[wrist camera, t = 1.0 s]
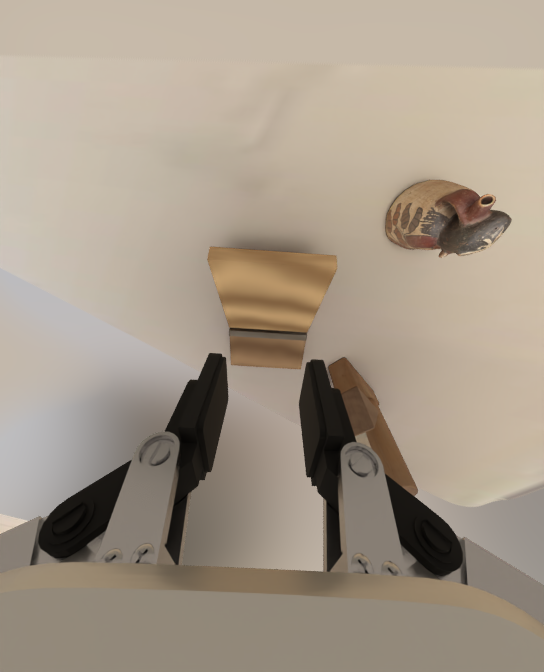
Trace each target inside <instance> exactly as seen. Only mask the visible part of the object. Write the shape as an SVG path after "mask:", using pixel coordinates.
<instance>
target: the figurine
mask: <svg viewBox="0 0 544 672" xmlns="http://www.w3.org/2000/svg"><path fill="white" fill-rule="evenodd" d="M495 201H496V198H495V196H493V195H490V194H487V195H484V196H482V197H480V196H479V195H478V194H477V193H476V192H474V191H473V190H471V189H469V188H467V187H464V186H462V185H459V184H456V183H453V182H449V181H444V180H429V181H425V182H421V183H418V184H415V185H413V186H411V187H410V188H408V189H406V190H405V191H404V192H403V193H402V194H401V195H400V196H399V197H397V198H396V200H395V201H394V203H393V204H392V206H391V207H390V209H389V211H388V213H387V219H386V233H387V236H388V238H389V239H390V240H391V241H392V242H394V243H395V244H397V245H399V246H401V247H403V248H406V249H424V250H433V249H441V250H442V251H441V252H440V254H439V257H441V258H442V257H445V256H447V255H448V254H450V253H456V254H457V255H459V256H464V255H468V254H472V253H476V252H480V251H483V250H485V249H487V248H489V247H490V246H491V245H492V244H494V242H495V241H496V240H497V239H498V238H499V237H500V236H501V235H502V234H503V233H504V232H505V230H506V229H507V228H508V226H509V225H510V223H511V218H510V217H509V215H507V214H506V213H504V212H501V211H496V210H490V209H491V207H492V206H493V204H494V203H495Z"/></svg>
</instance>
